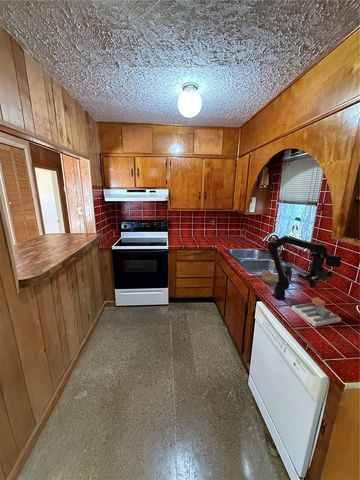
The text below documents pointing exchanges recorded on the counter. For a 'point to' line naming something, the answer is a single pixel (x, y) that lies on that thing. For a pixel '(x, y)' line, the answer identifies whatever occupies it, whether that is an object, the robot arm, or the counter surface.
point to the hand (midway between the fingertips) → (312, 287)
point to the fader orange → (318, 302)
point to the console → (314, 315)
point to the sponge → (269, 277)
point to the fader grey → (322, 311)
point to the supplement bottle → (288, 271)
